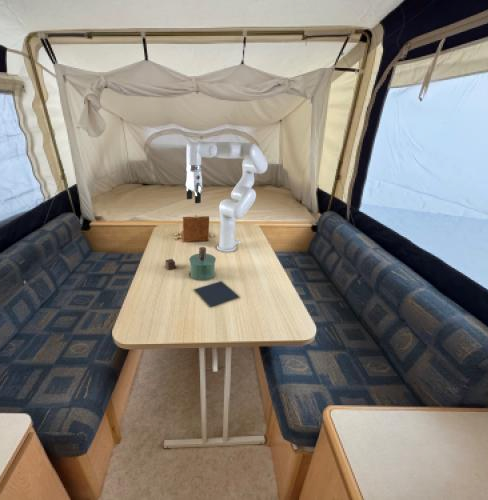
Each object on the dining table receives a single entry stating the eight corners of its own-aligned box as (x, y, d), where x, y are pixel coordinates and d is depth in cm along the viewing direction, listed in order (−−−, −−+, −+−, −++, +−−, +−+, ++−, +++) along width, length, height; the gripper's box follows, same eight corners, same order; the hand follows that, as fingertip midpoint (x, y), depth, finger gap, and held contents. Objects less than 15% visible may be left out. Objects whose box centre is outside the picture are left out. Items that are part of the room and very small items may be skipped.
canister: (206, 266, 149) (207, 252, 145) (218, 276, 139) (219, 262, 135) (186, 271, 143) (186, 257, 139) (197, 282, 133) (197, 267, 130)
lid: (207, 253, 146) (207, 241, 143) (220, 263, 135) (221, 250, 132) (185, 258, 140) (184, 246, 137) (197, 269, 129) (197, 256, 126)
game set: (212, 231, 198) (212, 206, 190) (217, 243, 179) (218, 215, 170) (174, 232, 195) (173, 207, 187) (175, 244, 175) (174, 217, 167)
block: (172, 265, 150) (172, 258, 148) (175, 268, 147) (174, 261, 145) (165, 266, 148) (165, 260, 146) (168, 269, 145) (168, 263, 143)
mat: (221, 282, 134) (221, 281, 134) (238, 297, 122) (238, 296, 122) (194, 290, 127) (194, 289, 127) (210, 306, 115) (210, 306, 115)
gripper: (208, 170, 132) (207, 204, 139) (192, 165, 145) (192, 197, 152) (195, 170, 128) (194, 205, 135) (180, 166, 142) (180, 198, 149)
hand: (193, 201), depth 144 cm, fingers open, 9 cm apart
